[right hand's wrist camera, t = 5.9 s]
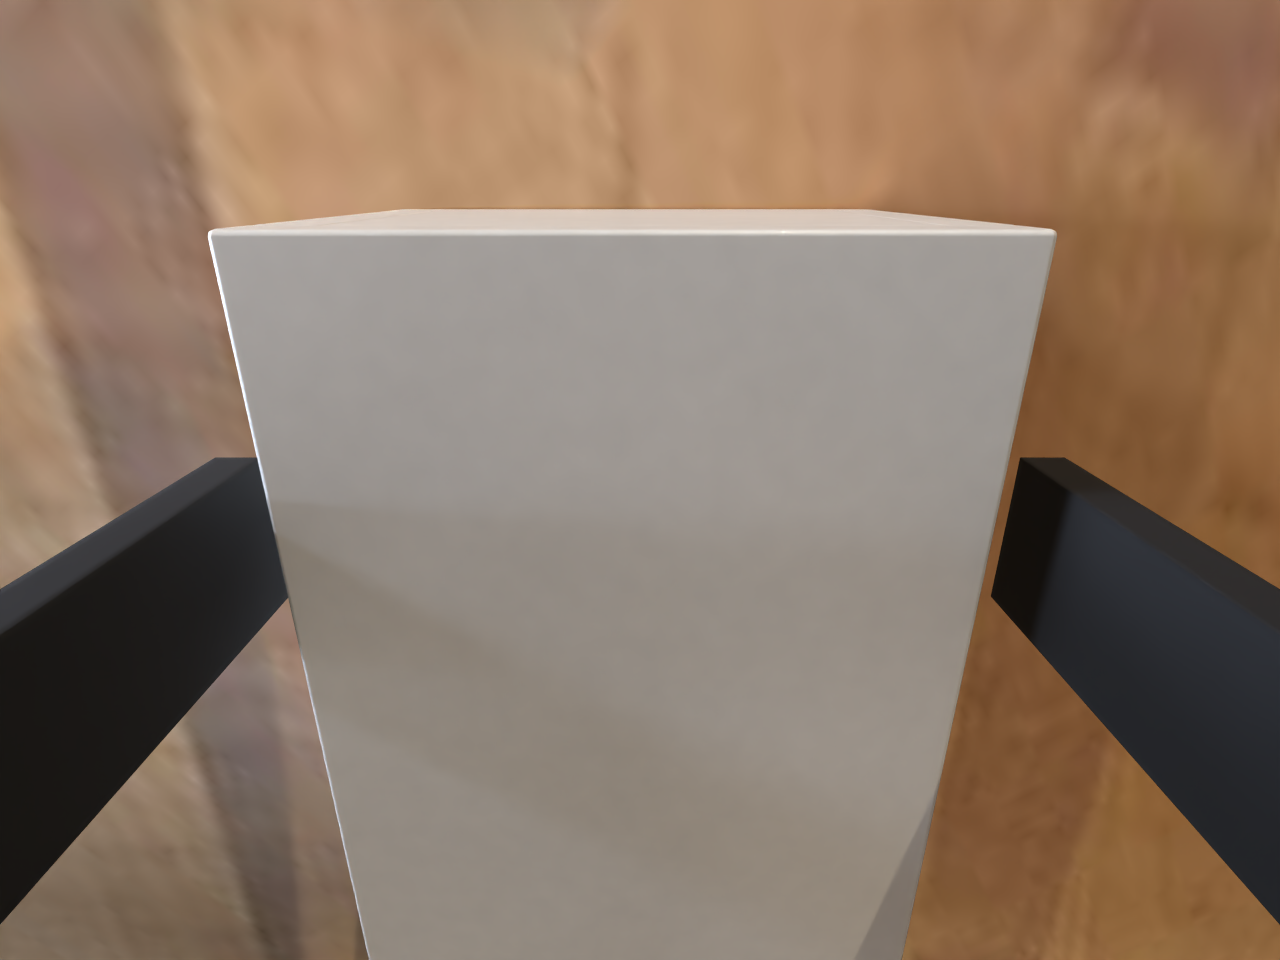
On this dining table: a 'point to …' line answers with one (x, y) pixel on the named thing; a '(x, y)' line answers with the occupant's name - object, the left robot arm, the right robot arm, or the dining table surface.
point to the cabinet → (633, 557)
